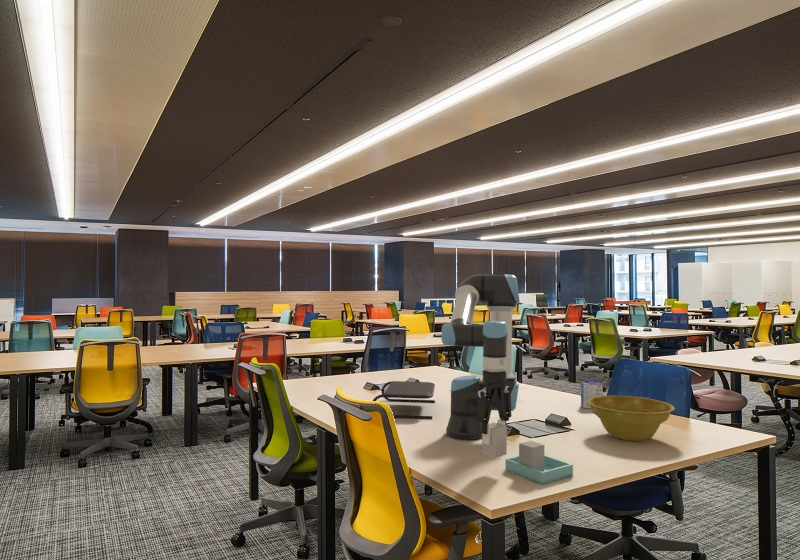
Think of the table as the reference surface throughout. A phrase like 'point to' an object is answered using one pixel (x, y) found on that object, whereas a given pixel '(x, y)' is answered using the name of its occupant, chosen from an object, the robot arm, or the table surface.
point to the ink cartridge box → (590, 391)
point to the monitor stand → (408, 394)
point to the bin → (551, 472)
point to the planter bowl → (630, 415)
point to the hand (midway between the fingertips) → (494, 441)
